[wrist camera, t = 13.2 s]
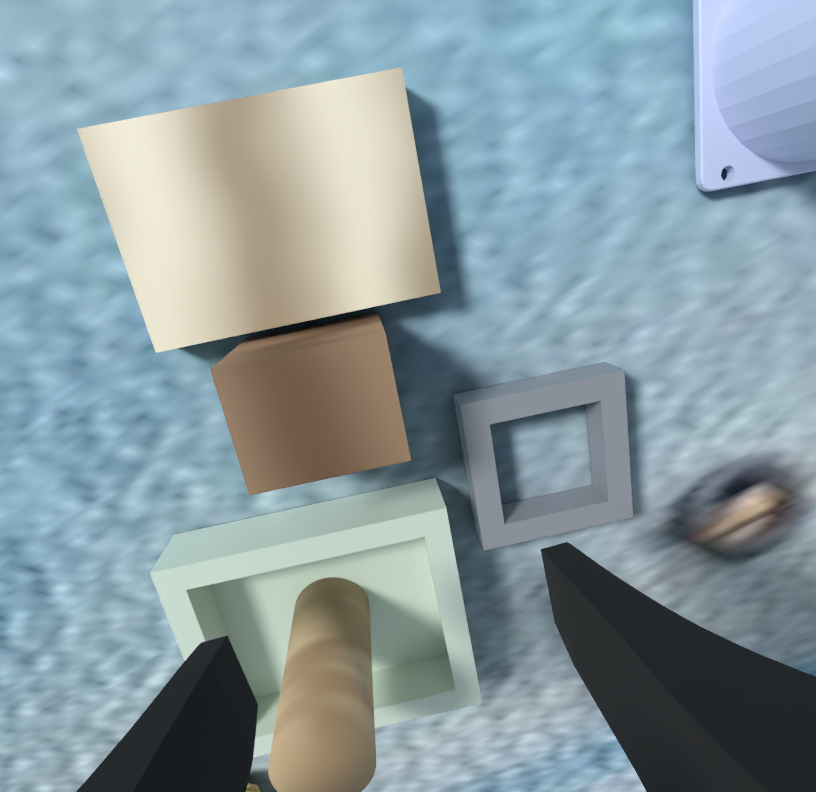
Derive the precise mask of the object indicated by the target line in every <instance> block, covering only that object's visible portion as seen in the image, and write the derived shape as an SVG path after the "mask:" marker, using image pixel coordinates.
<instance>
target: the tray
mask: <svg viewBox="0 0 816 792" xmlns="http://www.w3.org/2000/svg"><path fill="white" fill-rule="evenodd" d="M150 575H151V577H152V580H153V582H154V585H155V587H156V590H157V592H158V595H159V597H160V600H161V603H162V605H163V608H164V610H165V613H166V615H167V618H168V620H169V623H170V625H171V628H172V630H173V633H174V635H175V638H176V640H177V643H178V645H179V648H180V650H181V653H182V655H183V658H184V661H186V659H187V658H188V657H189V656H190V654H191V653H192V652H193V651H194V650H195V649H196V647H197V646H198V645H199V644H200V643H201V642H205V641H209V640H212V639H216V638H220V637H223V636H228V638H229V640H230V642H231V645H232V647H233V649H234V651H235V654H236V656H237V658H238V660H239V663H240V665H241V667H242V669H243V672H244V674H245V676H246V679H247V681H248V683H249V685H250V688H251V690H252V692H253V694H254V697H255V699H256V701H257V703H258V711H257V724H256V735H255V745H254V754H253V757H257V756H261V755H266V754H270V752H271V746H272V740H273V734H274V728H275V722H276V716H277V710H278V704H279V698H280V692H281V686H282V680H283V674H284V668H285V662H286V656H287V650H288V644H289V638H290V632H291V626H292V620H293V614H294V608H295V603H296V600H297V598H298V596H299V594H300V593H301V592H302V590H303V589H304V588H305V587H307V586H308V585H309V584H311V583H313V582H315V581H317V580H320V579H323V578H329V577H338V578H344V579H347V580H350V581H352V582H354V583H356V584H357V585H358V586H360V587H361V588H362V590H363V591H364V592H365V594H366V595H367V598H368V601H369V608H370V632H371V655H372V678H373V701H374V724H375V728H378V727H382V726H387V725H391V724H395V723H399V722H403V721H408V720H412V719H416V718H420V717H424V716H428V715H433V714H437V713H441V712H445V711H449V710H453V709H458V708H462V707H466V706H470V705H474V704H479V703H482V700H481V694H480V689H479V683H478V678H477V672H476V667H475V661H474V656H473V651H472V645H471V640H470V634H469V629H468V623H467V618H466V612H465V607H464V602H463V596H462V591H461V585H460V580H459V574H458V569H457V563H456V558H455V553H454V547H453V542H452V536H451V531H450V525H449V520H448V514H447V509H446V506H445V503H444V500H443V497H442V495H441V492H440V489H439V486H438V483H437V481H436V478H432V479H427V480H423V481H418V482H413V483H409V484H404V485H400V486H395V487H390V488H386V489H381V490H377V491H372V492H367V493H363V494H358V495H354V496H349V497H344V498H340V499H335V500H331V501H326V502H321V503H317V504H312V505H308V506H303V507H298V508H294V509H289V510H285V511H280V512H275V513H271V514H266V515H262V516H257V517H252V518H248V519H243V520H239V521H234V522H230V523H225V524H220V525H216V526H211V527H207V528H202V529H197V530H193V531H188V532H184V533H179V534H174V536H173V537H172V539H171V540H170V542H169V544H168V545H167V547H166V548H165V550H164V552H163V553H162V555H161V556H160V558H159V560H158V561H157V563H156V564H155V566H154V568H153V569H152V571H151V572H150Z"/></svg>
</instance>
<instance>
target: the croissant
mask: <svg viewBox="0 0 816 792" xmlns="http://www.w3.org/2000/svg"><path fill="white" fill-rule="evenodd" d="M246 792H260V790H259V787H258V785H255V784H250V783H248V785H247V790H246Z"/></svg>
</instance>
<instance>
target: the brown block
mask: <svg viewBox="0 0 816 792" xmlns="http://www.w3.org/2000/svg"><path fill="white" fill-rule="evenodd" d="M210 370H211V373H212V376H213V380H214V383H215V386H216V389H217V392H218V396H219V399H220V402H221V405H222V409H223V412H224V415H225V418H226V421H227V425H228V428H229V431H230V434H231V437H232V441H233V444H234V447H235V450H236V454H237V457H238V460H239V463H240V466H241V470H242V473H243V476H244V479H245V482H246V486H247V489H248V492H249V495H254V494H258V493H263V492H268V491H272V490H277V489H281V488H286V487H291V486H295V485H300V484H305V483H309V482H314V481H319V480H323V479H328V478H333V477H337V476H342V475H346V474H351V473H356V472H360V471H365V470H370V469H374V468H379V467H384V466H388V465H393V464H398V463H402V462H407V461H411V457H410V452H409V447H408V442H407V437H406V432H405V427H404V422H403V417H402V412H401V407H400V402H399V397H398V392H397V387H396V382H395V377H394V372H393V367H392V362H391V357H390V352H389V347H388V342H387V337H386V333H385V330H384V328H383V325H382V322H381V320H380V317H379V315H378V312H376V313H371V314H366V315H361V316H356V317H351V318H346V319H342V320H337V321H332V322H327V323H322V324H317V325H312V326H307V327H302V328H297V329H292V330H287V331H282V332H277V333H272V334H267V335H262V336H257V337H252V338H247V339H245V340H244V341H243V342H242V343H241V344H239V345H238V346H237V347H236V348H235V349H233V350H232V351H231V352H230V353H229V354H228V355H226V356H225V357H224V358H223V359H222V360H220V361H219V362H218V363H217V364H216V365H214V366H213V367H212V368H211V369H210Z"/></svg>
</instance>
